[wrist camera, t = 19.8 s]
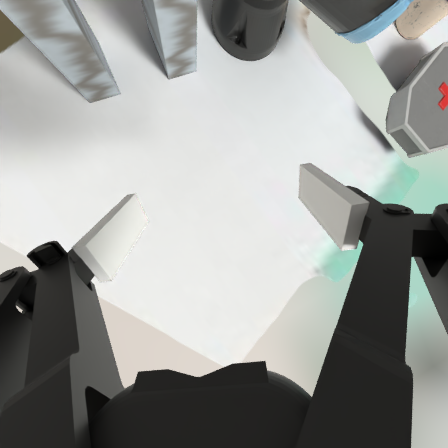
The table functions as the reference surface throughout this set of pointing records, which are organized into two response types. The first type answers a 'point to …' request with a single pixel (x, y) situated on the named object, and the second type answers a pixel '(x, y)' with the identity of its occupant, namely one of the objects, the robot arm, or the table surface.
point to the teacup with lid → (421, 17)
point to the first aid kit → (422, 106)
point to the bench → (89, 46)
